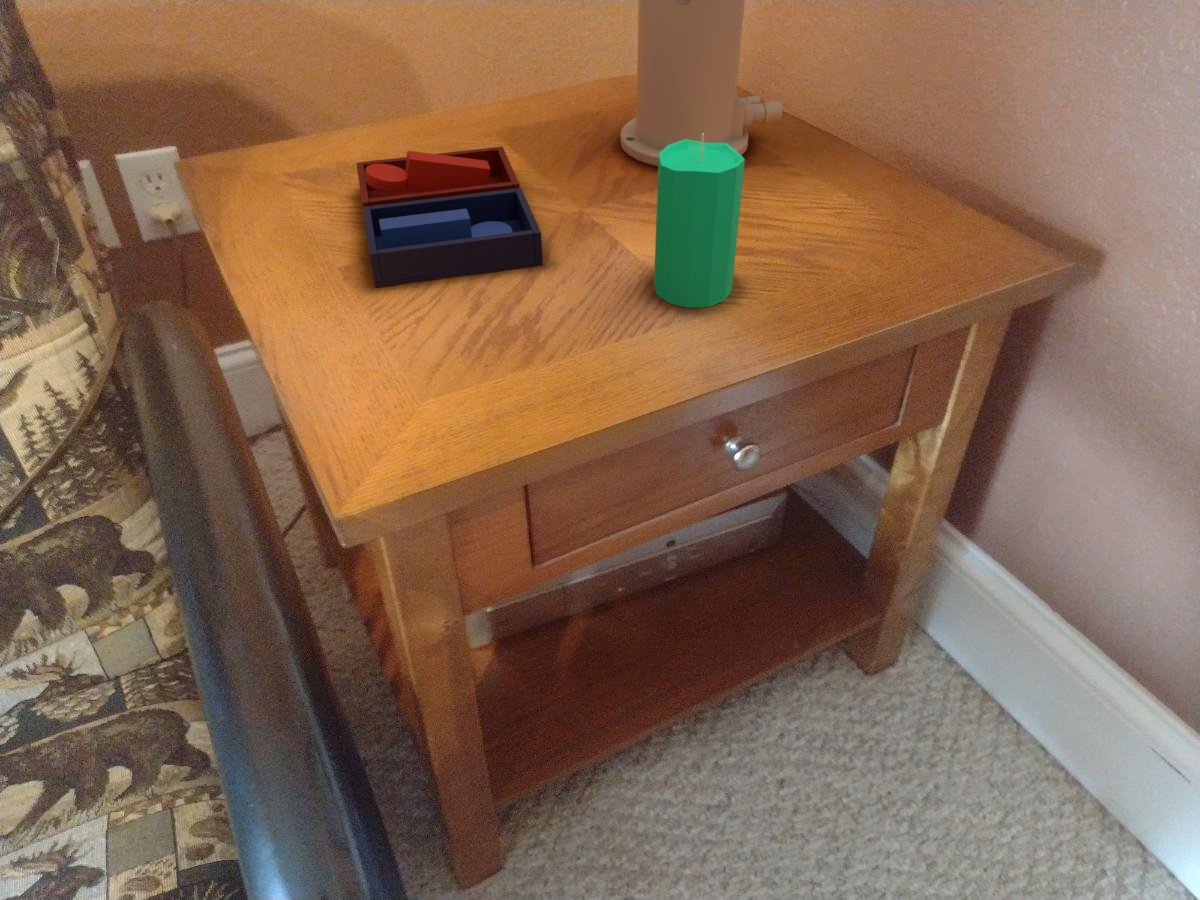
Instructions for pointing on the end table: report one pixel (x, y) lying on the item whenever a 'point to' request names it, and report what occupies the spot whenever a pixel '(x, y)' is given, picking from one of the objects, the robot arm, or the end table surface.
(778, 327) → the end table surface
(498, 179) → the maroon bin
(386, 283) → the navy bin
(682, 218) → the candle
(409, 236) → the blue spoon
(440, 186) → the red spoon
